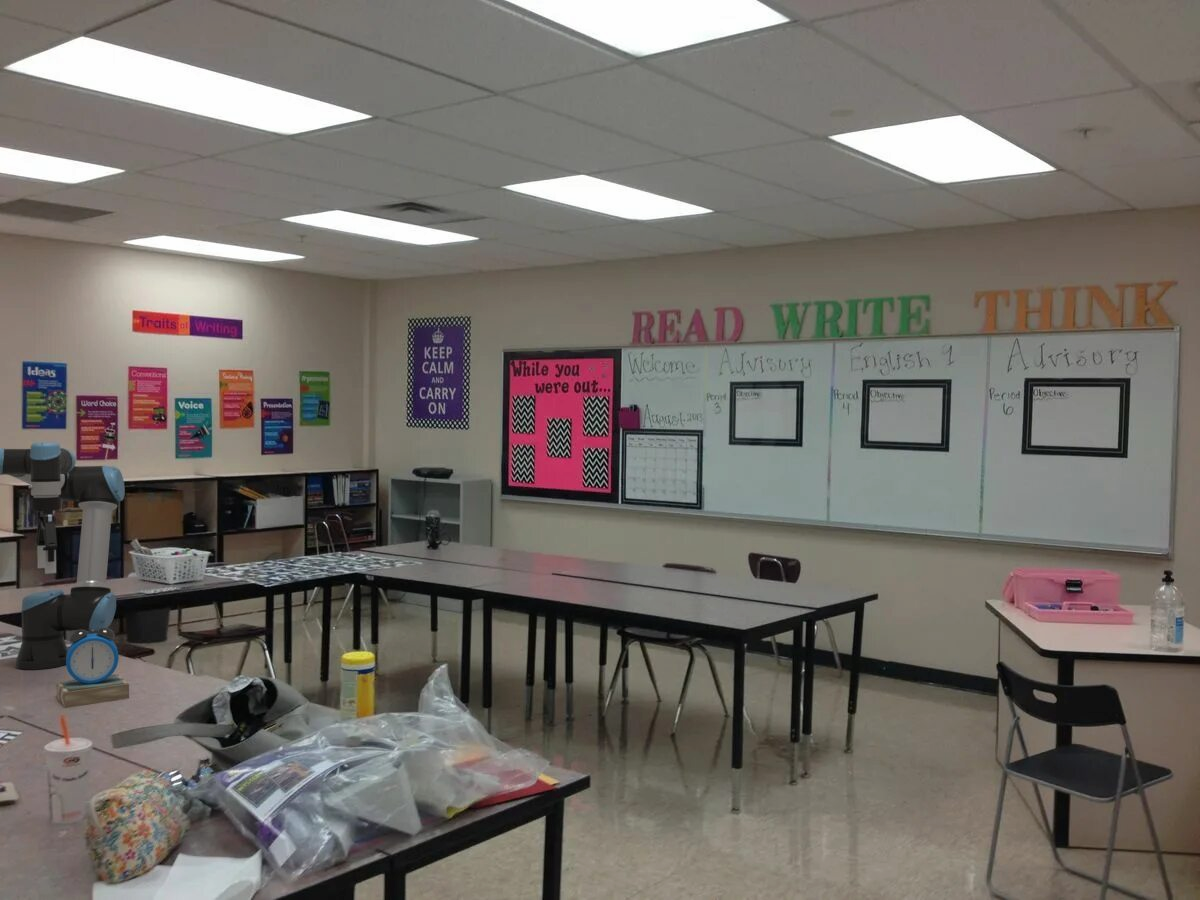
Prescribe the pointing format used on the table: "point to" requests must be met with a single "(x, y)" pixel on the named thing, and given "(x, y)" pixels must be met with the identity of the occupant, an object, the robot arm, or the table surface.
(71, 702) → the base
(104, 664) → the alarm clock
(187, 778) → the table surface
